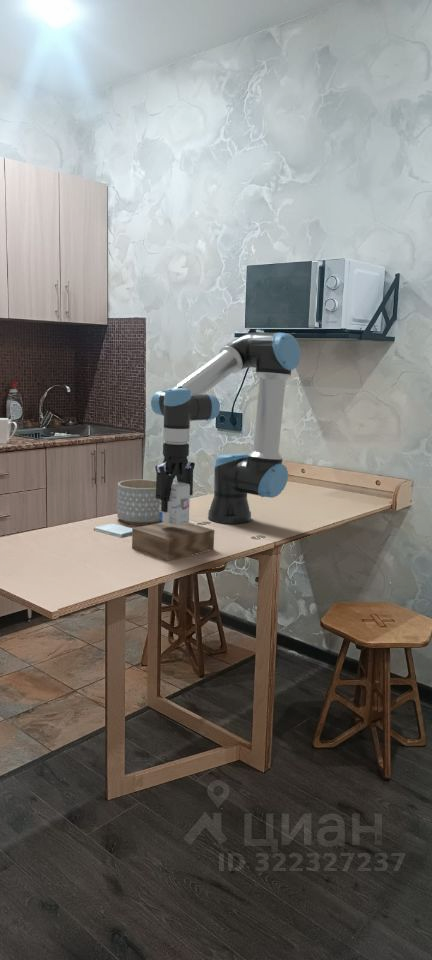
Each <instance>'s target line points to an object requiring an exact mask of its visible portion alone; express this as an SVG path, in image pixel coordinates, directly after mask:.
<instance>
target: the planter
mask: <svg viewBox="0 0 432 960" xmlns="http://www.w3.org/2000/svg"><path fill="white" fill-rule="evenodd" d="M159 501H160V499H157V498H156V479H155V480H154V479H127V480H121V481H119V482H118V483H117V510H116V511H117V514H116V515H117V518H118V519H119V520H121V521H122V522H124V523H125V524H130V525H138V526H141V525H142V526H147V525H152V524H157V523H161V521H160V520H159Z"/></svg>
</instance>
